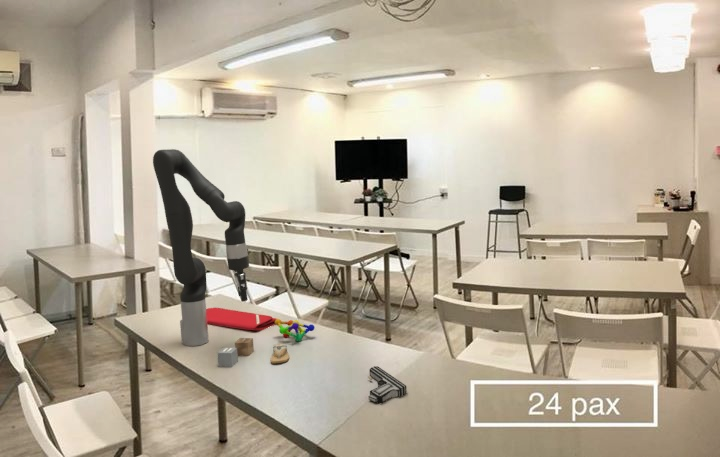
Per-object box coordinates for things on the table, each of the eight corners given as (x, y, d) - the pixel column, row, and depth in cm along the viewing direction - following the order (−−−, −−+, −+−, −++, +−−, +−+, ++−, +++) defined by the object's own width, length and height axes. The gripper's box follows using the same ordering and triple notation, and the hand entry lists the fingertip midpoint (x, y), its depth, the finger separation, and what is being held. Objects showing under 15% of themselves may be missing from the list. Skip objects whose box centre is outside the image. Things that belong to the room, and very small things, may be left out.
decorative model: (298, 320, 213) (318, 318, 201) (297, 342, 211) (317, 341, 199) (270, 319, 205) (289, 317, 193) (269, 341, 203) (288, 340, 191)
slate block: (218, 366, 177) (217, 352, 176) (224, 361, 182) (223, 346, 181) (232, 367, 176) (231, 352, 176) (238, 361, 181) (237, 347, 181)
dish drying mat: (214, 312, 245) (213, 304, 245) (280, 323, 224) (279, 315, 223) (187, 321, 232) (186, 313, 231) (255, 334, 210) (254, 325, 210)
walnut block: (235, 355, 187) (234, 342, 186) (240, 350, 191) (240, 337, 191) (248, 356, 186) (247, 342, 185) (253, 351, 191) (252, 337, 190)
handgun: (373, 397, 144) (410, 386, 150) (344, 373, 161) (378, 365, 166) (374, 407, 145) (410, 396, 150) (345, 382, 162) (378, 374, 167)
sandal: (271, 366, 176) (270, 352, 175) (268, 350, 191) (268, 337, 191) (290, 364, 177) (289, 350, 177) (286, 348, 193) (286, 335, 192)
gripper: (225, 254, 195) (231, 296, 198) (228, 260, 182) (234, 304, 184) (245, 251, 198) (250, 292, 200) (250, 256, 184) (256, 300, 187)
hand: (243, 298), depth 192 cm, fingers open, 8 cm apart
